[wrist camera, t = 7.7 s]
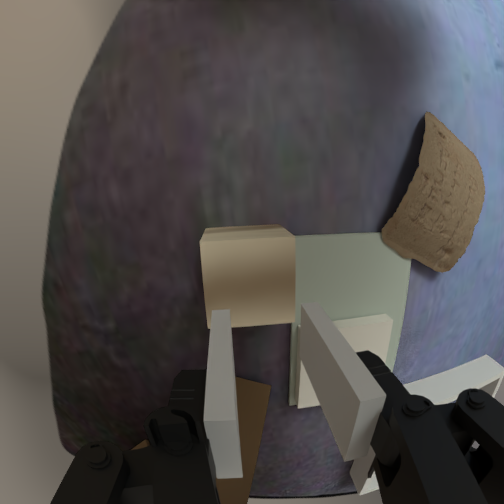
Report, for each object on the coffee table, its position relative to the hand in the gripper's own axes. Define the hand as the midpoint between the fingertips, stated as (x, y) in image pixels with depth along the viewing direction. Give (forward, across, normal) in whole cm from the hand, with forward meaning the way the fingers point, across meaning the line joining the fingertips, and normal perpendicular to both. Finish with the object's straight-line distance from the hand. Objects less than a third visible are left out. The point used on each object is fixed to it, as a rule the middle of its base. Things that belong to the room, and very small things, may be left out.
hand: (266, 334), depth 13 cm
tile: (+11, +9, -6) cm, 15 cm away
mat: (+13, +10, -7) cm, 17 cm away
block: (+13, 0, 0) cm, 13 cm away
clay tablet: (+12, +19, +6) cm, 23 cm away
